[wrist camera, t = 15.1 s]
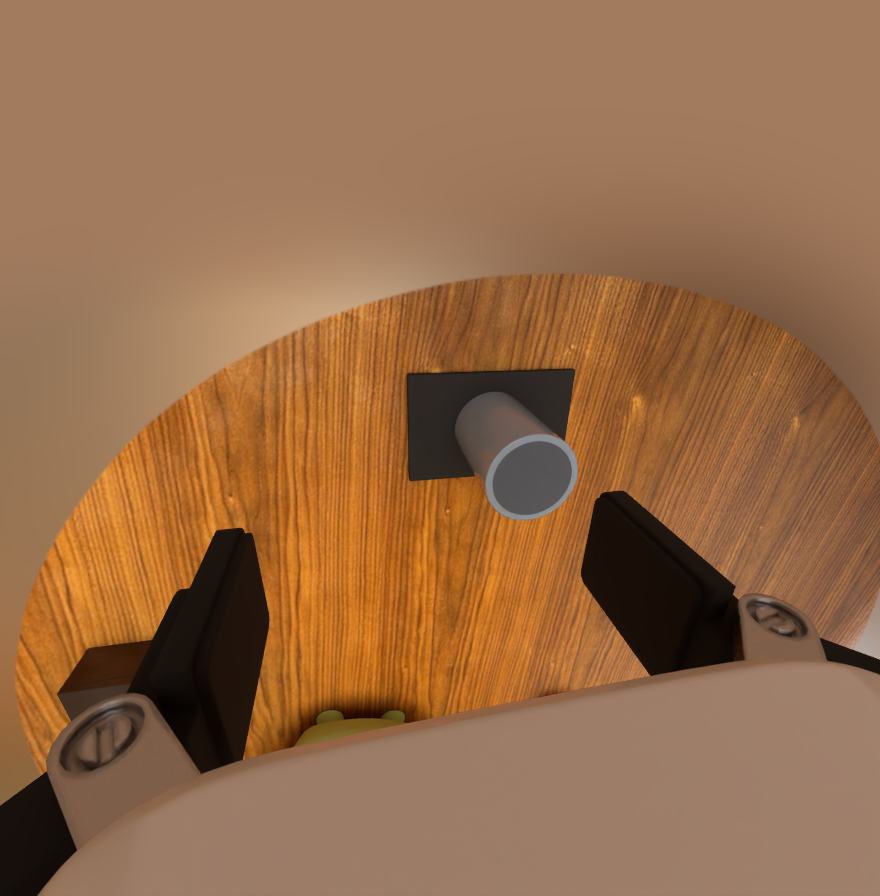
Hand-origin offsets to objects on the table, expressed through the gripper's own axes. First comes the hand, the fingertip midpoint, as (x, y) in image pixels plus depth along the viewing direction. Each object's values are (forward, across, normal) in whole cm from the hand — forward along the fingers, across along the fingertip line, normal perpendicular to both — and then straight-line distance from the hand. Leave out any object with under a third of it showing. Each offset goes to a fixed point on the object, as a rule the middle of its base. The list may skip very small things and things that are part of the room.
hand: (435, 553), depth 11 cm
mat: (+26, -10, +7) cm, 28 cm away
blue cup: (+25, -10, +7) cm, 28 cm away
